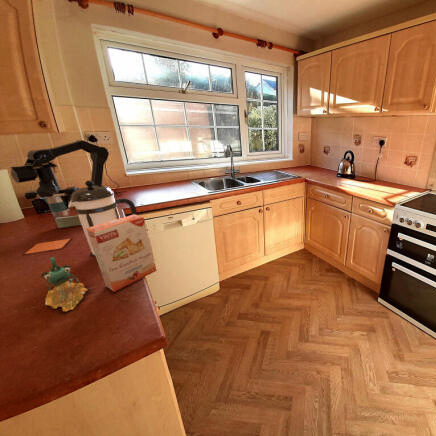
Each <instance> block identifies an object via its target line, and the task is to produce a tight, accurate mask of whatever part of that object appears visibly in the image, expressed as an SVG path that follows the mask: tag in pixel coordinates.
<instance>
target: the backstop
mask: <svg viewBox="0 0 436 436" xmlns="http://www.w3.org/2000/svg"><path fill="white" fill-rule="evenodd" d="M54 220H55V223H56V225H57V229H62V228H69V227H75V226H76V227H77V226H82V224H81V222H80V219H79V216H78V214H76V215H68V216H64V217H59V218H54Z"/></svg>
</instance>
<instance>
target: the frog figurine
mask: <svg viewBox="0 0 436 436" xmlns="http://www.w3.org/2000/svg"><path fill="white" fill-rule="evenodd" d="M49 261H50V263H51V265H52V267H50V268H49V271H48V272H47V271H44V272H42V274H41V275H40V278H44V279H45V280H46V283H47V284H46V286H47V287H48V291H47V294H46V296H45V298H44V299H45V306H49V307H51V308H52V309H58V308H61V309H62V312H68V311H70V310H74V309H75V308H76V307H77V305H78V304H79V303H80V302H81V301H82V300H83V298H84V295H86V292H88V290H89V289H88V288H86V287H85V284H84V283H82V282H80V280H79V279H78V278H77V276H76V275H74V274H72V273H70V272H71V265H69V264H64V265H63V266H61V265H58V263H57V261H56V258H55V257H53V256H51V257H49ZM71 277H72V278H71ZM74 279H76V282H74V281H73V280H74ZM77 282H78V283H77ZM49 283H50V284H51V285H53V288H52V289H50V284H49Z"/></svg>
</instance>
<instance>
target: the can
mask: <svg viewBox="0 0 436 436" xmlns="http://www.w3.org/2000/svg"><path fill="white" fill-rule="evenodd" d="M62 196H64V193H63V194H54V195H53V196H52V197H45V198H46V200H47V202H48V205H49V208H50V210H51V211H50V210H49V211H50V212H51V215H52V217H53V218H54V219H56V218H60V217H68V216H71V210H70V208H69V209H68V208H67V206H66V203H65V199H64V198H63V197H62Z"/></svg>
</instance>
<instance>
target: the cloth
mask: <svg viewBox="0 0 436 436" xmlns="http://www.w3.org/2000/svg"><path fill="white" fill-rule="evenodd" d="M70 240H71V238H65V239H58V240H52V241H45V242H39V243H35V245H33V246H32V247H31V248H30V249H28V250H27V251H26V252H25V253H24V255H27V254H34V253H35V254H36V253H41V252H46V251H47V252H48V251H52V250H58V249H62V248H64V246H65V245H66V244H67V243H68V242H70Z"/></svg>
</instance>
